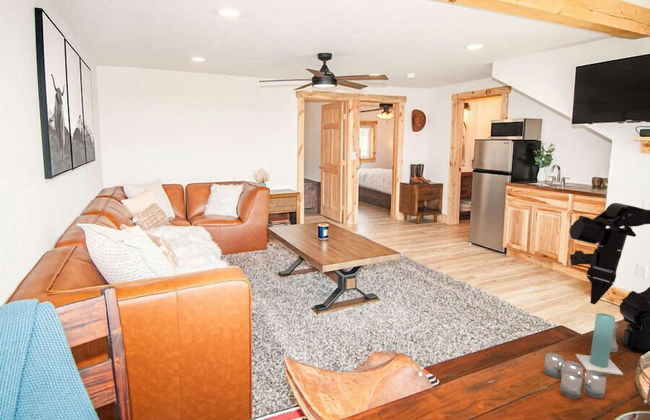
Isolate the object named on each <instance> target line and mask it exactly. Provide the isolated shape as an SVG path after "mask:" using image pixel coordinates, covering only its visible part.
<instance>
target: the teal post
mask: <svg viewBox="0 0 650 420" xmlns="http://www.w3.org/2000/svg"><path fill="white" fill-rule="evenodd" d="M595 314H596V316H595V321H594V327H593V330H594V331H593V336H592V343H591V349H590V355H589V356H590V363H591V364H593V365H595V366H598V367H603V368H606V367H608V363H609V359H610V355H611V352H610V350H611V343H612V337H613V330H614V324H615V322H616V317H615V316H613V315H612V314H611V315H610V314H607V313H603V312H599V313H595Z"/></svg>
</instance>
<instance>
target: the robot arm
mask: <svg viewBox="0 0 650 420" xmlns="http://www.w3.org/2000/svg"><path fill="white" fill-rule="evenodd" d="M644 225H650V209H645V208H641V207H637V206H634V205H629V204H624V203H618V202H612V203H610V204H609V205H608V206H607V207H606V208H605V210H604V211H602V212H601V213H600V214H598V215H597V216H596V217H594V218H590V217H588V216H584V215H579V217H578V219H576V220H575V221H574V222H572V225H570V229H569V236H570V238H571V239H572V240H576V241H579V242H584V243H586V244H587V243H588V244H591V245H595V244H597V247H596V248H595V249H594V250H593V253H584V251H583V250H575V251H574V253H573V254H569V259H570V266H578V265H589V267H588V268H587V271H586V278H587V279H588V280H589V283H590V285H591V288H590V304H592V305H596V304H597V303H598V302H599V301H600V299H602V297H603V296H604V295H605V294H606V293H607V292H608V291H609V289H610V288H611V287H612V286H613V285H614V283H615V282H616V279H617V271H618V266H619V263H620V260H621V257H622V253H623V250H624V247H625V244H626V240H627V237H633V238H635V237H637V234H636V232H635V231H633V228H634V227H641V226H644ZM607 227H608V228H607ZM632 227H633V228H632ZM621 301H622V302H621V303H620V304H619V306H618V307H619V312H620V314H621V316H622V317H623V320H624V321H623V322H625V323H627V325H626V328H625V329H624V330H623V331H624V332H623V339H622V340H621V343H622V344H624V345H625V346H626V348H628V349H629V350H630V351H631V352H633V353H641V354H647V353H646V352H648V351H650V286H649V287H648V288H646V289H645V290H644V291H641V292H637V291H635V290H631V291H630V292H629V293H628V295H627V296H626V297H624V298H621Z"/></svg>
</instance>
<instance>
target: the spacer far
mask: <svg viewBox="0 0 650 420" xmlns="http://www.w3.org/2000/svg"><path fill="white" fill-rule="evenodd" d="M583 379H584V378H583V375H582V376H581V375H579V374H578V373H575V372H572V371H563V372H562V377H561V379H560V380H561V381H560V389H559V392H560V394H561V395H563V396H564V397H566V398H569V399H571V400H572V399H573V400H577V399H580V398H581V393H582V387H583Z"/></svg>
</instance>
